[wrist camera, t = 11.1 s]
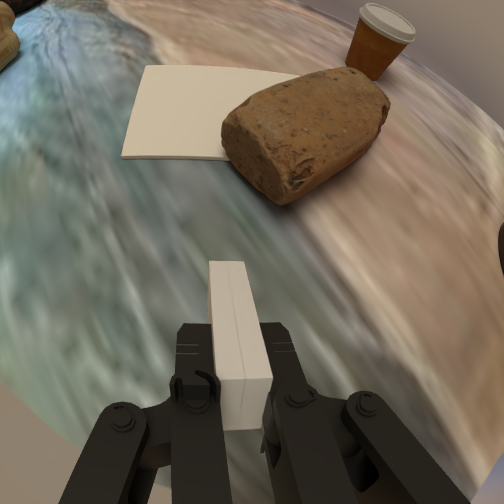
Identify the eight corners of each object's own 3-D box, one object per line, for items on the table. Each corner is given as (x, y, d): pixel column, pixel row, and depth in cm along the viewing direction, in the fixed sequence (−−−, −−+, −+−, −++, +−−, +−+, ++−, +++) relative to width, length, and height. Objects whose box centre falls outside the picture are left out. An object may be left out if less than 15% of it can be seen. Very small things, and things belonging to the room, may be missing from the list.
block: (218, 97, 25) (349, 57, 32) (211, 148, 32) (329, 95, 39) (300, 182, 23) (414, 114, 30) (276, 223, 30) (384, 149, 37)
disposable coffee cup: (325, 56, 43) (350, 0, 32) (357, 49, 46) (382, 2, 35) (366, 92, 42) (401, 37, 30) (395, 82, 45) (427, 35, 33)
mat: (301, 79, 40) (302, 76, 39) (318, 168, 35) (320, 165, 34) (146, 68, 36) (146, 65, 35) (122, 158, 31) (121, 155, 30)
